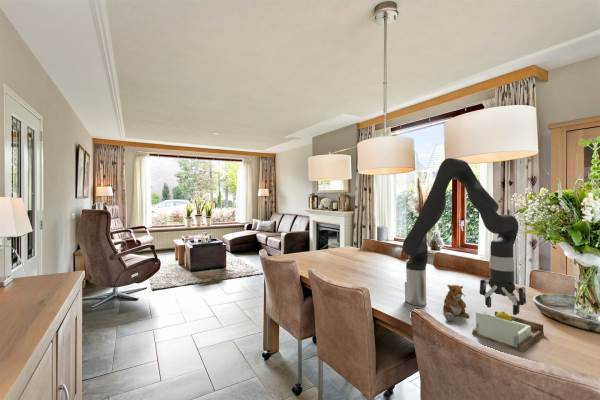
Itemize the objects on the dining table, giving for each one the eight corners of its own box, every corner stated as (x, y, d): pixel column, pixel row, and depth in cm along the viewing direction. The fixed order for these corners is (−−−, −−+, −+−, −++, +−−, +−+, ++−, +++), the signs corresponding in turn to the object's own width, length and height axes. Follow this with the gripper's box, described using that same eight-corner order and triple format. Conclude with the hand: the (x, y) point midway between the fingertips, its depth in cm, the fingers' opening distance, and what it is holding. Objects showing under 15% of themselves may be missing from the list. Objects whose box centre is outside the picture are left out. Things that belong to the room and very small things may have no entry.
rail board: (472, 333, 108) (471, 324, 108) (495, 320, 120) (495, 311, 120) (522, 352, 95) (522, 340, 95) (543, 334, 106) (543, 324, 106)
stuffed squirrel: (445, 317, 123) (445, 287, 123) (438, 305, 137) (437, 278, 137) (471, 319, 121) (470, 289, 121) (461, 307, 134) (460, 280, 134)
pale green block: (476, 333, 107) (475, 312, 107) (491, 324, 114) (491, 304, 114) (517, 347, 96) (516, 324, 96) (531, 336, 103) (530, 315, 103)
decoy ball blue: (476, 319, 120) (476, 311, 120) (480, 317, 122) (480, 309, 122) (485, 322, 117) (485, 314, 117) (489, 320, 119) (489, 312, 119)
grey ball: (443, 320, 120) (443, 312, 120) (447, 318, 122) (447, 310, 122) (451, 323, 117) (451, 315, 117) (456, 321, 119) (455, 313, 119)
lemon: (516, 336, 102) (516, 314, 102) (501, 336, 102) (501, 314, 102) (505, 329, 108) (504, 308, 108) (491, 329, 108) (490, 309, 108)
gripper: (528, 270, 101) (528, 314, 101) (485, 262, 113) (485, 302, 113) (520, 273, 97) (520, 320, 97) (476, 265, 109) (476, 306, 109)
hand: (501, 310), depth 105 cm, fingers open, 8 cm apart
